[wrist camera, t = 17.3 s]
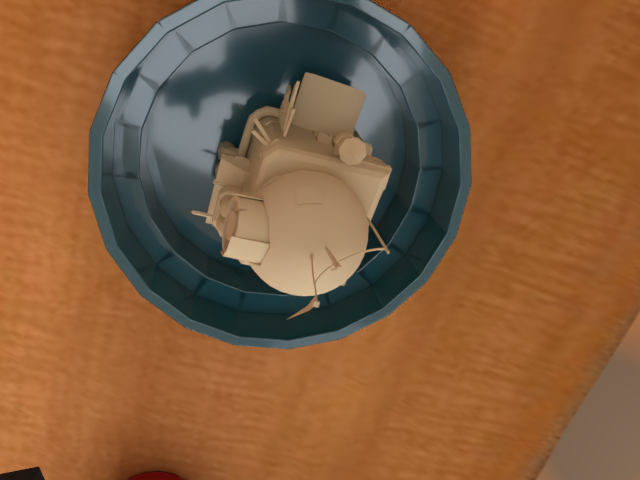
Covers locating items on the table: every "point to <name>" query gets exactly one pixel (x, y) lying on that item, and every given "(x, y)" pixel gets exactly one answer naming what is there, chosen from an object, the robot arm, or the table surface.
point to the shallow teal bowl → (228, 125)
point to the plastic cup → (156, 476)
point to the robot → (299, 190)
